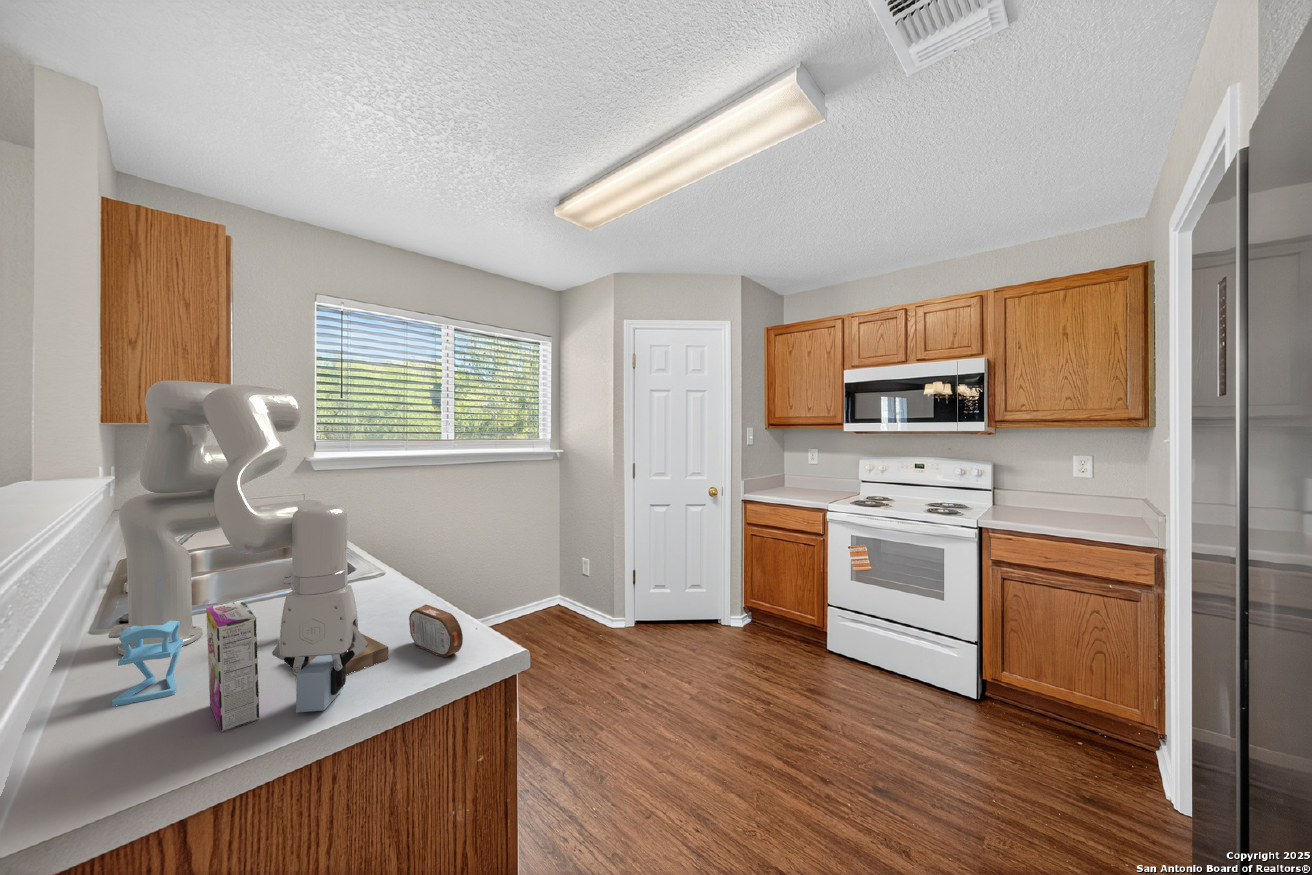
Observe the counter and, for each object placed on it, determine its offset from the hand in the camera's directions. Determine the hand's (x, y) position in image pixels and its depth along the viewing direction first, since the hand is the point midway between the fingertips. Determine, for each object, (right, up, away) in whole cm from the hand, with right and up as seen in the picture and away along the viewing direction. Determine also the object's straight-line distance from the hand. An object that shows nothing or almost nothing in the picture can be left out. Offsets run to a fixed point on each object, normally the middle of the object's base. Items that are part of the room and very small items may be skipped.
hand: (321, 690), depth 83 cm
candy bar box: (-12, -2, -3) cm, 13 cm away
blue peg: (0, -1, 0) cm, 1 cm away
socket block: (-6, -2, +15) cm, 16 cm away
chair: (-32, -2, +4) cm, 32 cm away
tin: (+10, -2, +20) cm, 22 cm away
